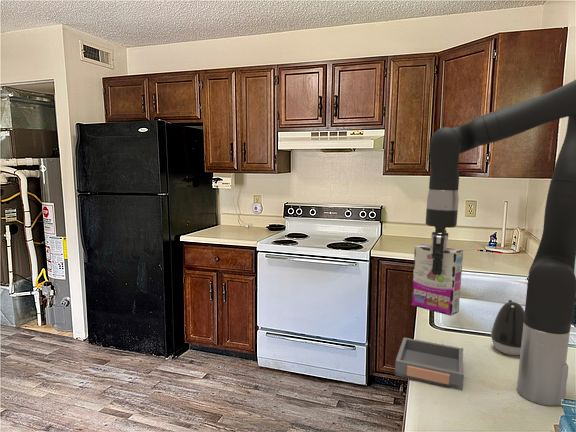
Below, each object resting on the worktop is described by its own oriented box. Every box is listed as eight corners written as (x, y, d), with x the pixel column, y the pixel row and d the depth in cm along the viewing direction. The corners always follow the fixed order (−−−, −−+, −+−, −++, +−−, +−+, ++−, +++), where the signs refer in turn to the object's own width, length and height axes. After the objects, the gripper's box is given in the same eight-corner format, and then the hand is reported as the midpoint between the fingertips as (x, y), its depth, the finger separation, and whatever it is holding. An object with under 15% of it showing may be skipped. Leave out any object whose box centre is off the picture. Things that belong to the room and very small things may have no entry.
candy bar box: (459, 312, 104) (464, 249, 102) (451, 316, 100) (456, 252, 98) (419, 301, 112) (423, 243, 110) (410, 305, 108) (414, 245, 106)
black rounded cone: (524, 347, 123) (529, 299, 121) (532, 362, 113) (537, 310, 112) (487, 341, 127) (492, 294, 125) (492, 355, 117) (496, 305, 115)
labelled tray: (461, 362, 112) (462, 348, 112) (461, 391, 97) (463, 375, 97) (402, 350, 118) (403, 337, 118) (394, 376, 103) (395, 361, 103)
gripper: (457, 210, 95) (452, 280, 97) (458, 206, 108) (453, 267, 110) (424, 208, 98) (419, 276, 100) (428, 204, 111) (424, 264, 113)
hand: (437, 271), depth 105 cm, fingers closed on candy bar box, 6 cm apart
